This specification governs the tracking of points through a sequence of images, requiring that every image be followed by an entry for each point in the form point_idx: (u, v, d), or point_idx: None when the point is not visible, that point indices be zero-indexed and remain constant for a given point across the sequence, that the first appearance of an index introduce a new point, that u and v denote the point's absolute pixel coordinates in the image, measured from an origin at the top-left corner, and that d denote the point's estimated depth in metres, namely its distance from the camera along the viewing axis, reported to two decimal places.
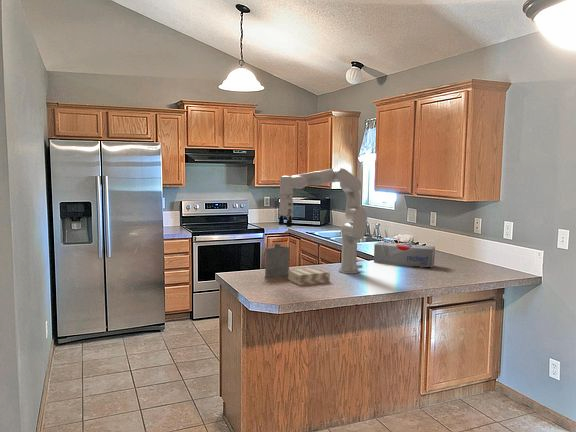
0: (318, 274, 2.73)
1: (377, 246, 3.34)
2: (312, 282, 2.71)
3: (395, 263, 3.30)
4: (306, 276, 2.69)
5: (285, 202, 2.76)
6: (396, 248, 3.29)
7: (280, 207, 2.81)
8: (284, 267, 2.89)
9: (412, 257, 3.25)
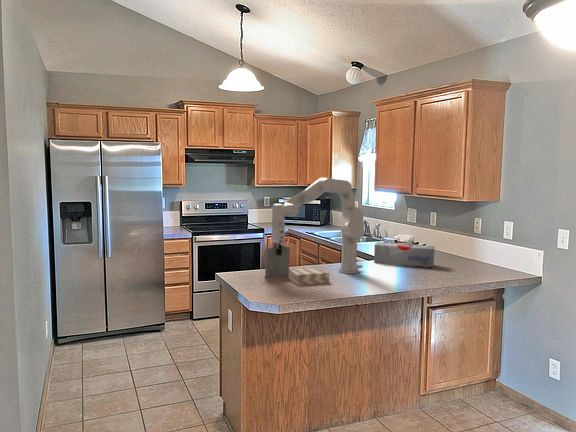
0: (317, 274, 2.72)
1: (377, 246, 3.32)
2: (311, 282, 2.71)
3: (396, 263, 3.29)
4: (304, 276, 2.69)
5: (277, 230, 2.81)
6: (396, 248, 3.28)
7: (272, 234, 2.87)
8: (284, 267, 2.89)
9: (413, 257, 3.25)
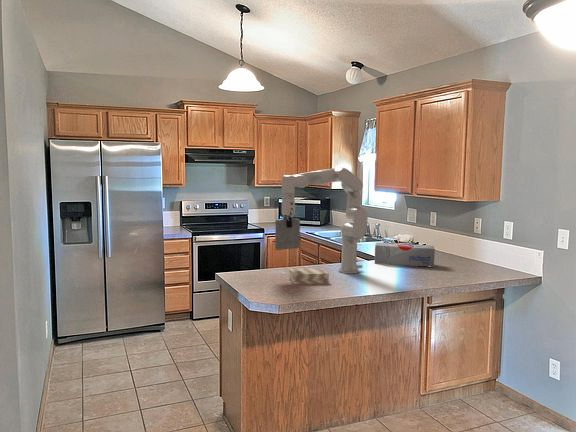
0: (316, 274, 2.71)
1: (378, 247, 3.31)
2: (309, 282, 2.71)
3: (397, 263, 3.29)
4: (302, 276, 2.70)
5: (287, 201, 2.77)
6: (397, 248, 3.28)
7: (282, 206, 2.82)
8: (294, 240, 2.84)
9: (414, 257, 3.25)
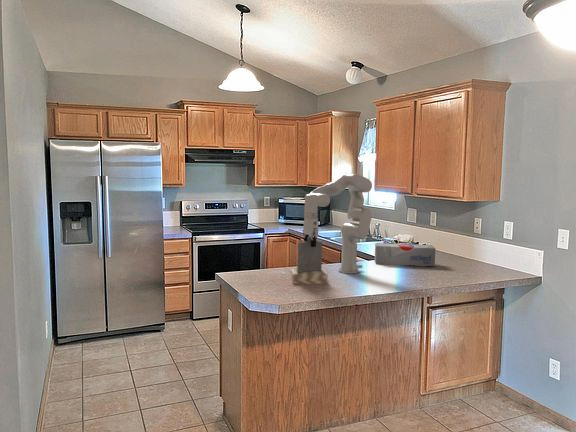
0: (314, 275, 2.71)
1: (379, 247, 3.28)
2: (307, 282, 2.71)
3: (398, 264, 3.28)
4: (300, 276, 2.70)
5: (310, 221, 2.70)
6: (399, 249, 3.27)
7: (305, 226, 2.76)
8: (316, 263, 2.78)
9: (415, 257, 3.26)
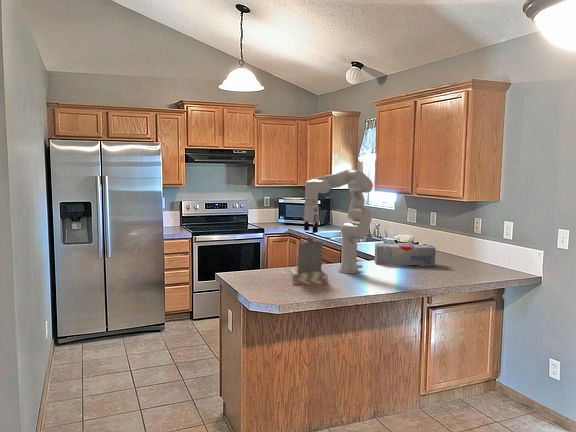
0: (314, 275, 2.71)
1: (380, 248, 3.27)
2: (307, 282, 2.71)
3: (399, 264, 3.28)
4: (300, 276, 2.70)
5: (311, 208, 2.70)
6: (399, 249, 3.27)
7: (305, 213, 2.75)
8: (316, 263, 2.78)
9: (415, 257, 3.26)
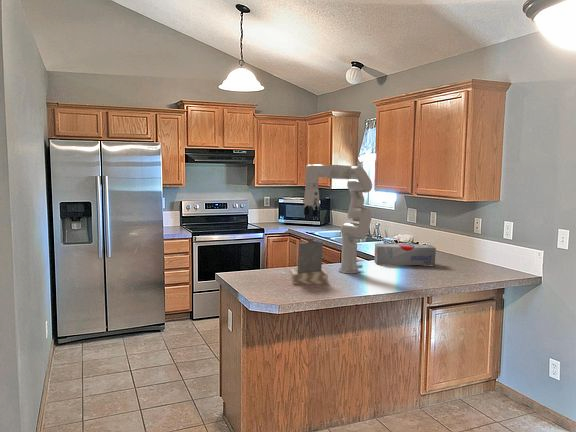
0: (314, 275, 2.71)
1: (381, 248, 3.27)
2: (307, 282, 2.71)
3: (399, 264, 3.28)
4: (300, 276, 2.70)
5: (311, 191, 2.69)
6: (400, 249, 3.26)
7: (305, 197, 2.74)
8: (316, 263, 2.77)
9: (416, 257, 3.26)
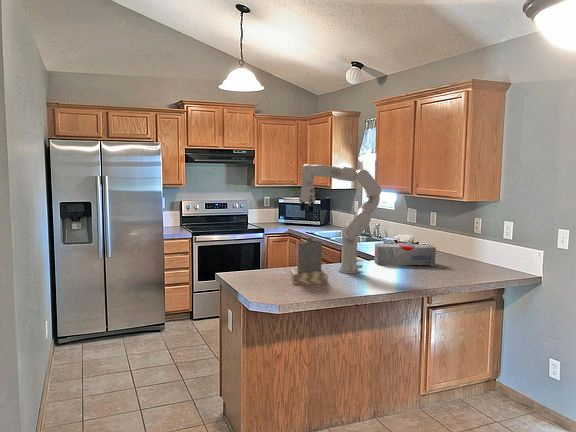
0: (314, 275, 2.71)
1: (381, 248, 3.26)
2: (307, 282, 2.71)
3: (399, 264, 3.27)
4: (300, 276, 2.70)
5: (307, 189, 2.95)
6: (400, 249, 3.26)
7: (302, 194, 3.00)
8: (316, 263, 2.78)
9: (416, 257, 3.27)
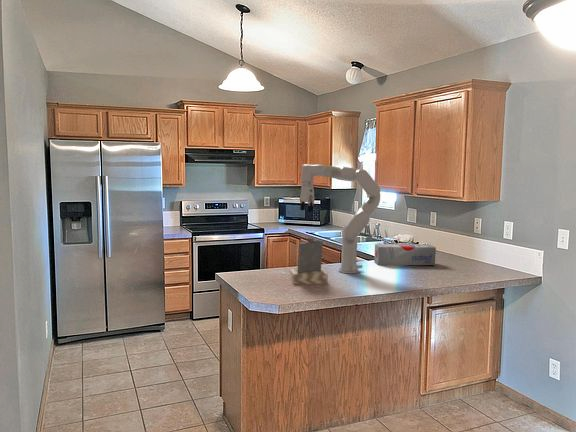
0: (314, 275, 2.71)
1: (382, 248, 3.25)
2: (307, 282, 2.71)
3: (400, 264, 3.27)
4: (300, 276, 2.70)
5: (306, 189, 2.97)
6: (401, 249, 3.26)
7: (302, 193, 3.02)
8: (316, 263, 2.77)
9: (417, 257, 3.27)
